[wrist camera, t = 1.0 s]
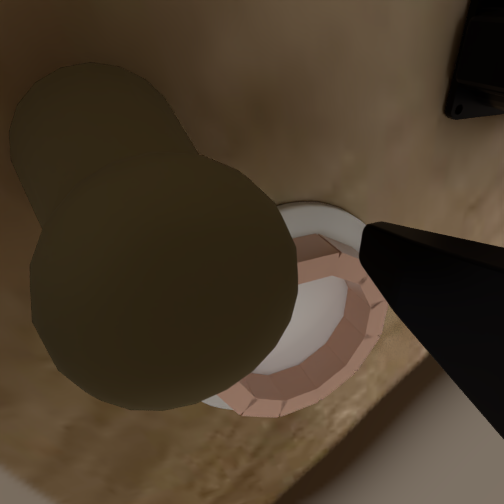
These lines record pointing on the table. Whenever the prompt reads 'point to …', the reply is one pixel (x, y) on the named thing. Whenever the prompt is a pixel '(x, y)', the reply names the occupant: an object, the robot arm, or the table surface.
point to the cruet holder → (315, 318)
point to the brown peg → (145, 245)
